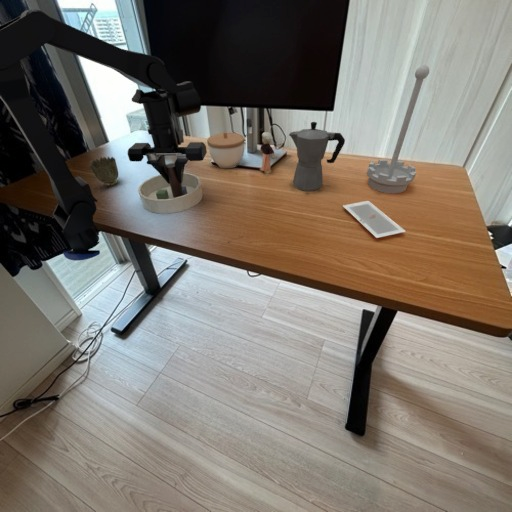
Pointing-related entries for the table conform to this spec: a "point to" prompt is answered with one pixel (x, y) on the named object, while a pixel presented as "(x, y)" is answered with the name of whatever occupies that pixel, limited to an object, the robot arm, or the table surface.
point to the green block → (162, 194)
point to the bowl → (170, 194)
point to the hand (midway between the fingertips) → (175, 183)
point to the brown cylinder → (174, 180)
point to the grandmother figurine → (266, 152)
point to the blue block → (184, 190)
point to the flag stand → (397, 152)
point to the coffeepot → (313, 155)
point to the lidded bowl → (226, 149)
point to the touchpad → (373, 219)
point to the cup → (105, 170)
